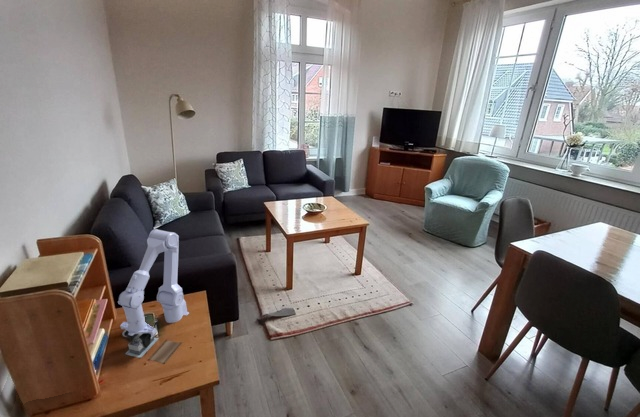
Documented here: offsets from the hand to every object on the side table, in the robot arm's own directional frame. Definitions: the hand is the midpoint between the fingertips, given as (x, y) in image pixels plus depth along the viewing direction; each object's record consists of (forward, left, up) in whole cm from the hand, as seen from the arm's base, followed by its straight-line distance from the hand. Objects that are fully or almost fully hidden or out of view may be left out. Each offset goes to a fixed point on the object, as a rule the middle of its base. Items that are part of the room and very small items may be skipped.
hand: (142, 344), depth 123 cm
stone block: (-8, -8, -3) cm, 12 cm away
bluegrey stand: (0, 0, -2) cm, 2 cm away
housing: (0, 0, -1) cm, 1 cm away
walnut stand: (0, +11, -2) cm, 11 cm away
